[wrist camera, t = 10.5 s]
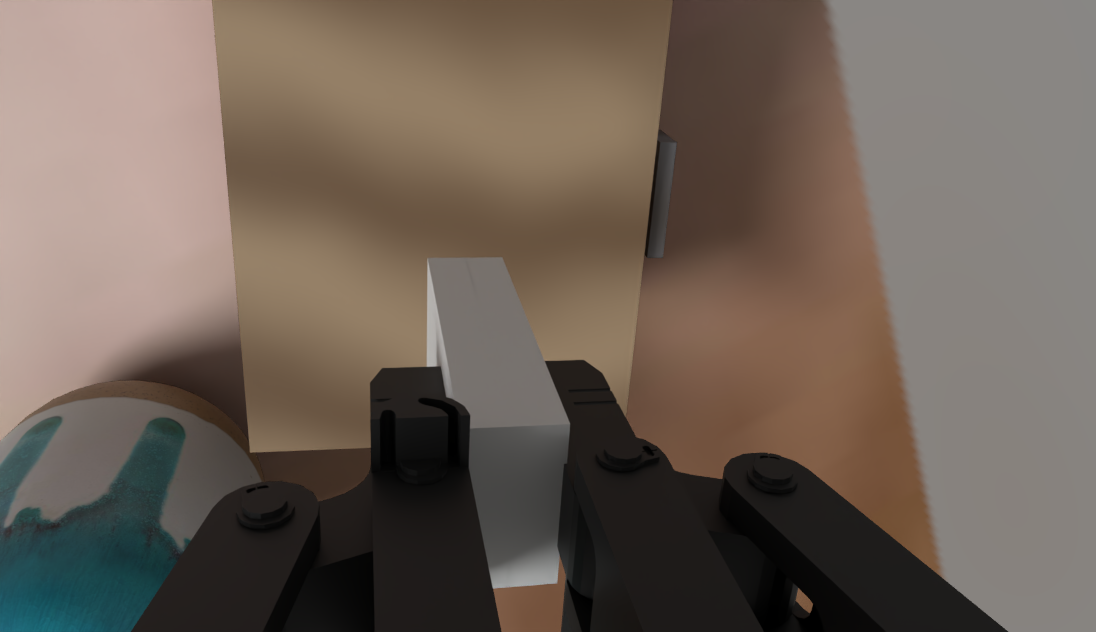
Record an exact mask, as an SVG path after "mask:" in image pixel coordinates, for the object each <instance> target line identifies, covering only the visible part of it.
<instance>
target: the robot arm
mask: <svg viewBox="0 0 1096 632" xmlns="http://www.w3.org/2000/svg"><path fill="white" fill-rule="evenodd" d="M370 433H371V468H370V472H369V474H368V475H367V477H366V478H365V480H364V481H363V482H361V483H360V484H359V485H358V486H357V487H356V488H354V489H352V490H350V491H348V492H346V493H345V494H342V495H339V496H336V497H333V498H331V499H327V500H323V501H319V502H318V500H317V498H316V497H315V495H314V493H313V492H311V491H309V490H308V489H306V488H304V487H303V486H301V485H297V484H293V483H288V482H283V481H277V482H260V483H256V484H251V485H248V486H244V487H241V488H239V489H237V490H235V491H233V492H231V493H229V494H227V495H225V496H224V497H223V498H222V499H221V500H220V501H219V502H218V503H217V504H216V505H215V506H214V507H213V508H212V509H211V511H210V512H209V514H208V516H207V517H206V519H205V520H204V522H203V523H202V525H201V526H200V528H199V529H198V531H197V532H196V534H195V535H194V537H193V538H192V540H191V541H190V543H189V544H188V546H187V547H186V549H185V550H184V552H183V553H182V555H181V556H180V558H179V559H178V561H177V562H176V564H175V565H174V567H173V568H172V570H171V571H170V573H169V575H168V576H167V578H166V579H165V581H164V582H163V584H162V585H161V587H160V588H159V590H158V591H157V593H156V594H155V596H154V597H153V599H152V600H151V602H150V603H149V605H148V606H147V608H146V609H145V611H144V612H143V614H142V615H141V617H140V618H139V620H138V621H137V623H136V624H135V626H134V627H133V629H132V630H131V632H501V627H500V622H499V617H498V612H497V607H496V602H495V597H494V592H493V588H504V587H516V586H529V585H541V584H554V583H557V578H558V566H559V554H560V557H561V560H562V564H563V567H564V570H565V573H566V580H565V592H564V603H563V615H562V626H561V632H1008V631H1007V630H1005V629H1004V628H1003V627H1002V626H1000V625H999V624H998V623H997V622H996V621H994V620H993V619H992V618H991V617H989V616H988V615H987V614H986V613H984V612H983V611H982V610H981V609H980V608H978V607H977V606H976V605H975V604H973V603H972V602H971V601H970V600H969V599H967V598H966V597H965V596H964V595H962V594H961V593H960V592H958V591H957V590H956V589H955V588H954V587H952V586H951V585H950V584H949V583H948V582H946V581H945V580H944V579H943V578H942V577H940V576H939V575H938V574H937V573H935V572H934V571H933V570H932V569H930V568H929V567H928V566H927V565H926V564H924V563H923V562H922V561H921V560H919V559H918V558H917V557H916V556H914V555H913V554H912V553H911V552H910V551H908V550H907V549H906V548H905V547H903V546H902V545H901V544H900V543H898V542H897V541H896V540H895V539H893V538H892V537H891V536H890V535H889V534H887V533H886V532H885V531H884V530H882V529H881V528H880V527H879V526H877V525H876V524H875V523H874V522H873V521H871V520H870V519H869V518H868V517H866V516H865V515H864V514H863V513H861V512H860V511H859V510H858V509H857V508H855V507H854V506H853V505H852V504H850V503H849V502H848V501H847V500H845V499H844V498H843V497H842V496H841V495H839V494H838V493H837V492H836V491H834V490H833V489H832V488H831V487H829V486H828V485H827V484H826V483H825V482H823V481H822V480H821V479H820V478H818V477H817V476H816V475H815V474H813V473H812V472H811V471H810V470H808V469H807V468H805V467H804V466H802V465H800V464H799V463H797V462H795V461H793V460H790V459H787V458H784V457H781V456H780V455H776V454H771V453H770V454H768V453H750V454H742V455H740V456H737V457H735V458H732V459H731V460H730V461H729V462H728V463H727V464H726V466H725V467H724V473H723V479H717V478H710V477H703V476H695V475H690V474H685V473H681V472H677V471H675V470H674V469H673V467H672V466H671V464H670V462H669V460H668V458H667V457H666V455H665V454H664V453H663V452H662V451H661V450H660V449H659V448H658V447H657V446H655V445H653V444H651V443H650V442H648V441H646V440H644V439H640V438H636V436H635V434H634V432H633V431H632V429H631V427H630V425H629V423H628V421H627V419H626V417H625V415H624V413H623V411H622V410H621V408H620V406H619V404H617V400H616V398H615V396H614V394H613V392H612V391H610V387H609V385H608V383H607V381H606V379H605V377H604V375H603V373H602V372H600V371H599V370H598V369H596V368H595V367H593V366H592V365H591V364H589V363H588V362H586V361H585V360H561V361H544V358H543V356H542V354H541V351H540V349H539V346H538V344H537V341H536V339H535V336H534V334H533V332H532V329H531V327H530V324H529V322H528V319H527V317H526V314H525V312H524V310H523V307H522V305H521V302H520V300H519V297H518V295H517V292H516V290H515V287H514V285H513V283H512V280H511V278H510V275H509V273H508V270H507V268H506V265H505V263H504V261H503V258H502V257H486V258H428V267H427V367H400V368H382V369H381V370H380V371H379V372H378V374H377V375H376V376H375V377H374V378H373V380H372V381H371V382H370ZM798 588H799V589H800V590H801V591H802V592H803V593H804V594H805V595H806V596H807V597H808V598H809V599H810V600H811V602H812V603H813V607H812V611H811V613H808V612H807V611H806V610H804V609H803V608H802V607H801V606H800V605H799V604H798V603H797V602H796V601H795V600H796V596H797V591H798Z"/></svg>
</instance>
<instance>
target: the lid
mask: <svg viewBox="0 0 1096 632" xmlns="http://www.w3.org/2000/svg"><path fill="white" fill-rule="evenodd" d="M672 4H673V0H212V6H213V18H214V30H215V42H216V54H217V66H218V78H219V89H220V101H221V113H222V125H223V137H224V149H225V161H226V173H227V185H228V197H229V208H230V220H231V232H232V244H233V256H234V268H235V280H236V292H237V304H238V316H239V327H240V339H241V351H242V363H243V375H244V387H245V399H246V411H247V423H248V435H249V446H250V453H252V452H277V451H303V450H329V449H354V448H371V433H370V382H371V381H372V380H373V378H374V377H375V376H376V375H377V374H378V372H379V371H380V370H381V369H382V368H400V367H427V267H428V258H486V257H502V258H503V261H504V263H505V265H506V268H507V270H508V273H509V275H510V278H511V280H512V283H513V285H514V287H515V290H516V292H517V295H518V297H519V300H520V302H521V305H522V307H523V310H524V312H525V314H526V317H527V319H528V322H529V324H530V327H531V329H532V332H533V334H534V336H535V339H536V341H537V344H538V346H539V349H540V351H541V354H542V356H543V358H544V361H561V360H585V361H586V362H588V363H589V364H591V365H592V366H593V367H595V368H596V369H598V370H599V371H600V372H602V373H603V375H604V377H605V379H606V381H607V383H608V385H609V387H610V391H612V392H613V394H614V396H615V398H616V400H617V404H619V406H620V408H621V410H622V411H623V413H624V415H625V417H626V412H627V403H628V395H629V386H630V377H631V368H632V359H633V350H634V341H635V332H636V324H637V315H638V306H639V297H640V288H641V279H642V270H643V262H644V254H645V256H646V257H647V258H663V252H664V244H665V236H666V228H667V219H668V211H669V203H670V195H671V187H672V178H673V170H674V162H675V154H676V146H677V142H675V141H674V140H673V139H671V138H670V137H669V136H668V135H666V134H665V133H664V132H662V131H661V130H660V129H659V120H660V111H661V102H662V93H663V84H664V75H665V66H666V58H667V49H668V40H669V31H670V22H671V13H672Z"/></svg>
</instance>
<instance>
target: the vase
mask: <svg viewBox="0 0 1096 632" xmlns="http://www.w3.org/2000/svg"><path fill="white" fill-rule="evenodd" d="M260 482H264V478H263V473H262V469H261V466H260V463H259V460H258V458H257V456H256V454H255V452H252V453H250V446H249V441H248V440H247V438H246V437H245V435H244V434H243V432H242V431H241V429H240V428H239V427H238V426H237V425H236V424H235V423H234V422H233V421H232V420H231V419H230V418H229V416H227V415H226V414H225V413H223V412H222V411H221V410H220V409H218V408H217V407H216V406H215V405H213V404H211V403H210V402H208V401H206V400H204V399H203V398H201V397H199V396H197V395H195V394H193V393H191V392H188V391H186V390H183V389H181V388H178V387H174V386H170V385H166V384H162V383H156V382H148V381H112V382H105V383H98V384H94V385H91V386H87V387H83V388H80V389H77V390H74V391H71V392H69V393H67V394H64V395H62V396H60V397H57V398H55V399H53V400H51V401H50V402H48V403H47V404H45V405H44V406H42V407H41V408H39V409H37V410H36V411H34V412H33V413H31V414H30V415H28V416H27V417H26V418H25V419H24V420H23V421H21V422H20V423H19V424H18V425H17V426H16V427H15V428H14V429H13V430H12V431H11V432H9V433H8V434H7V435H6V436H5V437H4V438H3V439H2V440H1V441H0V632H131V630H132V629H133V627H134V626H135V624H136V623H137V621H138V620H139V618H140V617H141V615H142V614H143V612H144V611H145V609H146V608H147V606H148V605H149V603H150V602H151V600H152V599H153V597H154V596H155V594H156V593H157V591H158V590H159V588H160V587H161V585H162V584H163V582H164V581H165V579H166V578H167V576H168V575H169V573H170V571H171V570H172V568H173V567H174V565H175V564H176V562H177V561H178V559H179V558H180V556H181V555H182V553H183V552H184V550H185V549H186V547H187V546H188V544H189V543H190V541H191V540H192V538H193V537H194V535H195V534H196V532H197V531H198V529H199V528H200V526H201V525H202V523H203V522H204V520H205V519H206V517H207V516H208V514H209V512H210V511H211V509H212V508H213V507H214V506H215V505H216V504H217V503H218V502H219V501H220V500H221V499H222V498H223V497H224V496H225V495H227V494H229V493H231V492H233V491H235V490H237V489H239V488H241V487H244V486H248V485H251V484H256V483H260Z"/></svg>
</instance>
